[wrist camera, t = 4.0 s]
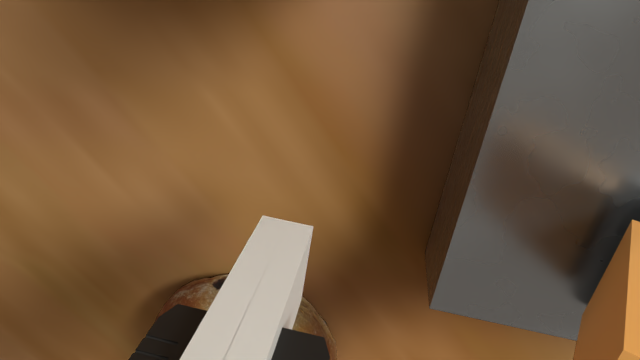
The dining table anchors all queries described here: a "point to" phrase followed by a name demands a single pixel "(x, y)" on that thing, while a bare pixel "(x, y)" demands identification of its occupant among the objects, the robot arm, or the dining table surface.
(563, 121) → the panel
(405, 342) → the dining table surface
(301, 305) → the bread roll
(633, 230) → the orange and white block
